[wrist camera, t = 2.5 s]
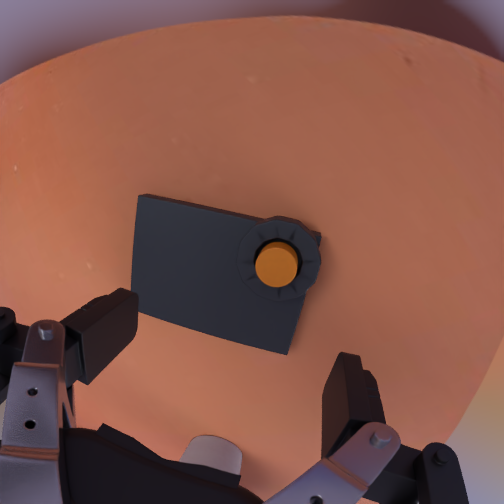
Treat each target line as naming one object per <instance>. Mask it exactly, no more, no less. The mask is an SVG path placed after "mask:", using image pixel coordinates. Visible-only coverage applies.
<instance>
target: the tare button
mask: <svg viewBox="0 0 504 504" xmlns="http://www.w3.org/2000/svg"><path fill="white" fill-rule="evenodd" d="M297 266H298V257H297V254H296V252H295V251H294V249H293V248H292V247H291V246H290V245H288V244H286V243H283V242H273V243H270V244H268V245H266V246H265V247H264V248H263V249H262V251H261V252H260V254H259V256H258V258H257V260H256V264H255V269H256V273H257V275H258V277H259V279H260V280H261V281H262V282H263V283H265V284H266V285H269V286H271V287H282V286H285V285H287V284H289V283H290V282H291V281H292V280H293V279H294V277H295V275H296V273H297Z"/></svg>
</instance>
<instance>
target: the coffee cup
mask: <svg viewBox="0 0 504 504" xmlns="http://www.w3.org/2000/svg"><path fill="white" fill-rule="evenodd" d="M179 462H184V463H192V464H200V465H206V466H209V467H212V468H216V469H219V470H222V471H226V472H230V473H233V474H237V475H240V469H241V463H242V453H241V451H240V450H239V448H238V447H237V446H235V445H234V444H233V443H231V442H229V441H227V440H225V439H223V438H220V437H216V436H209V435H203V436H197V437H195V438H193V439H192V440H191V442H190V443H189V445H188V447H187V448H186V450H185V452H184V453H183V455H182V457H181V458H180V460H179Z"/></svg>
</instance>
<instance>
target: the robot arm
mask: <svg viewBox="0 0 504 504" xmlns="http://www.w3.org/2000/svg"><path fill="white" fill-rule="evenodd" d="M138 304H139V297H138V294H137V293H135V292H132V291H129V290H126V289H124V288H118V289H117V290H115V291H114V292H112V293H111V294H109V295H104V296H100V297H97V298H94V299H93V300H91V301H90V302H88V303H87V305H86V304H85V305H84V306H82V307H81V309H78V310H76V311H75V312H73V313H72V314H70V315H69V316H67V317H66V318H64V319H63V320H61V321H60V322H57V321H55V320H40V321H37V322H35V323H33V324H32V325H31V326H30V327H29V326H26V325H22V324H19V323H16V317H15V313H14V311H13V310H11V309H10V308H7V307H0V404H1V403H2V402H4V400H6V399H7V401H6V408H5V415H4V422H3V432H2V440H0V504H356V503H357V502H358V501H359V499H360V498H361V497H363V498H366V499H369V500H372V501H375V502H378V503H379V504H469V501H468V497H467V493H466V488H465V484H464V480H463V476H462V472H461V469H460V465H459V461H458V458H457V456H456V454H455V452H454V451H453V450H452V449H451V448H450V447H449V446H447V445H445V444H442V443H438V442H434V443H430V444H428V445H427V446H426V447H425V448H424V449H423V450H422V451H420V450H417V449H414V448H411V447H408V446H405V445H402V444H401V440H400V437H399V435H398V433H397V432H396V431H395V430H394V429H393V428H391V427H390V426H388V425H386V421H385V416H384V412H383V407H382V403H381V399H380V394H379V391H378V385H377V381H376V379H375V378H374V376H373V375H372V374H371V372H370V371H368V370H363V368H362V363H361V358H360V356H359V355H354V354H349V353H345V352H340V353H339V354H338V356H337V359H336V361H335V363H334V366H333V368H332V370H331V372H330V375H329V377H328V379H327V381H326V384H325V387H324V390H323V395H322V449H321V460H320V461H319V462H317V463H316V464H315V465H314V466H312V467H311V468H310V469H309V470H307V471H306V472H305V473H304V474H302V475H301V476H300V477H299V478H297V479H296V480H295V481H293V482H292V483H291V484H289V485H288V486H286V487H285V488H284V489H282V490H281V491H280V492H278V493H277V494H275V495H274V496H272V497H271V498H269V499H268V500H266V501H265V502H264V501H263V500H261V499H260V498H259V497H258V496H257V495H255V494H254V493H252V492H251V491H249V490H248V489H246V488H244V487H242V486H240V485H239V482H240V478H241V475H237V474H233V473H230V472H226V471H222V470H219V469H216V468H212V467H209V466H206V465H200V464H192V463H184V462H178V461H172V460H166V459H164V458H162V457H160V456H158V455H157V454H156V453H154V452H153V451H151V450H150V449H148V448H147V447H145V446H144V445H143V444H141V443H140V442H138V441H137V440H136V439H134V438H133V437H131V436H128V435H126V434H124V433H122V432H120V431H118V430H116V429H114V428H112V427H110V426H108V425H106V424H104V423H103V424H102V425H101V426H100V427H99V429H98V430H97V431H96V430H92V429H86V428H77V427H76V416H75V398H74V385H73V383H74V382H75V381H76V380H79V381H81V382H82V383H84V384H86V385H89V384H90V383H91V382H92V381H93V379H94V378H95V377H96V376H97V375H98V374H99V373H100V372H101V371H102V370H103V369H104V368H105V367H106V366H107V365H108V364H109V363H110V362H111V361H112V360H113V359H114V358H115V357H116V356H117V355H118V354H119V353H120V352H121V351H122V350H123V349H124V348H125V347H126V346H127V345H128V344H129V343H130V342H131V341H132V340H133V339H134V337H135V335H136V332H137V326H138Z"/></svg>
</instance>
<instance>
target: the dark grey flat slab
mask: <svg viewBox="0 0 504 504" xmlns="http://www.w3.org/2000/svg"><path fill="white" fill-rule="evenodd" d="M321 238H322V237H321V233H320V232H316V231H312V230H309V229H308V228H307V227H306V226H305V225H304V224H303V223H302V222H300V221H299V220H295V219H291V218H287V217H283V216H274V217H271V218H268V219H262V218H257V217H253V216H249V215H244V214H240V213H235V212H231V211H227V210H222V209H217V208H213V207H208V206H204V205H199V204H194V203H190V202H185V201H180V200H175V199H171V198H166V197H161V196H156V195H151V194H143V195H139V196H138V203H137V212H136V221H135V232H134V244H133V258H132V275H131V291H132V292H135V293H137V294H138V297H139V304H138V312H141V313H144V314H147V315H149V316H152V317H155V318H158V319H161V320H164V321H167V322H170V323H173V324H177V325H180V326H183V327H186V328H189V329H192V330H196V331H199V332H202V333H206V334H209V335H212V336H216V337H219V338H223V339H226V340H230V341H233V342H237V343H241V344H244V345H248V346H252V347H256V348H260V349H264V350H267V351H271V352H276V353H280V354H284V355H287V354H288V351H289V348H290V345H291V341H292V338H293V335H294V332H295V329H296V325H297V322H298V319H299V316H300V312H301V309H302V306H303V302H304V299H305V295H306V292H307V290H308V289H309V288H310V287H311V286H312V285H313V284H314V283H315V281H316V279H317V275H318V272H319V268H320V265H321V255H320V251H319V245H320V241H321ZM273 242H283V243H286V244H288V245H290V246H291V247H292V248H293V249H294V251H295V252H296V254H297V257H298V266H297V273H296V275H295V277H294V279H293V280H292V281H291V282H290V283H289V284H287V285H285V286H282V287H271V286H269V285H266V284H265V283H263V282H262V281H261V280H260V279H259V277H258V275H257V273H256V269H255V264H256V260H257V258H258V256H259V254H260V252H261V251H262V249H263V248H264V247H265V246H266V245H268V244H270V243H273Z"/></svg>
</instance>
